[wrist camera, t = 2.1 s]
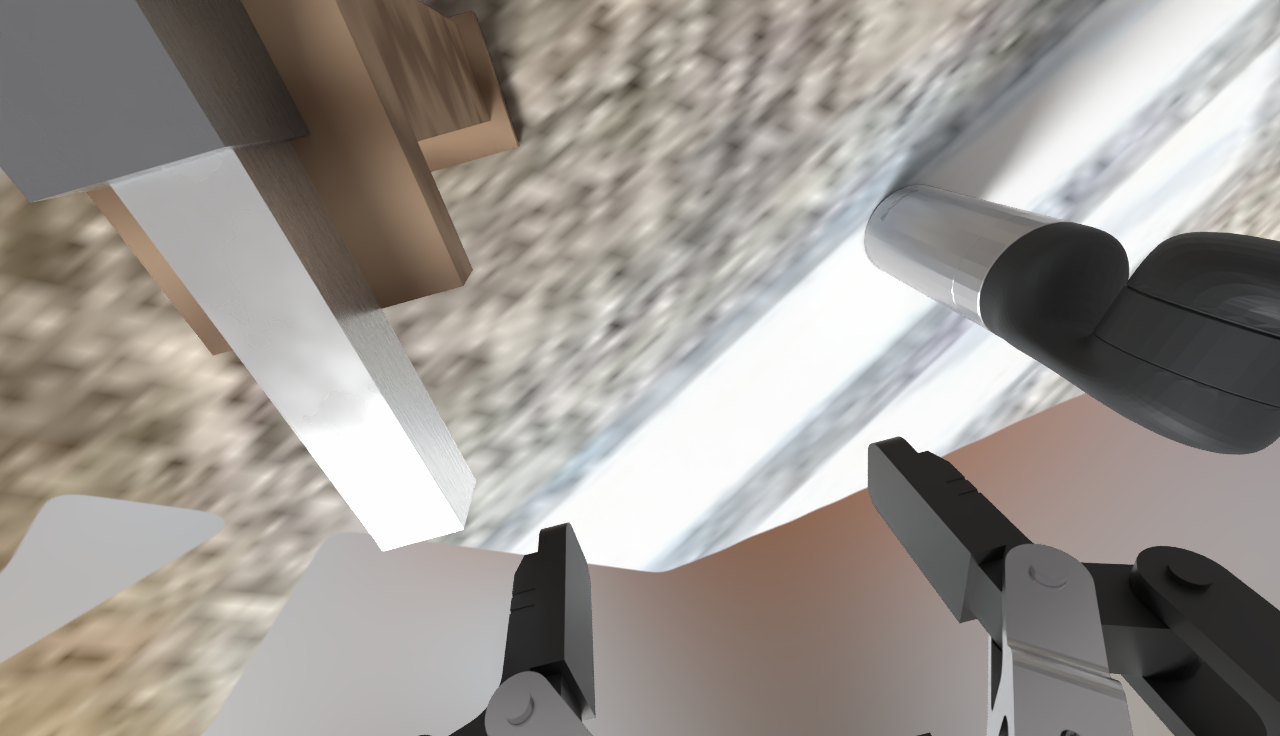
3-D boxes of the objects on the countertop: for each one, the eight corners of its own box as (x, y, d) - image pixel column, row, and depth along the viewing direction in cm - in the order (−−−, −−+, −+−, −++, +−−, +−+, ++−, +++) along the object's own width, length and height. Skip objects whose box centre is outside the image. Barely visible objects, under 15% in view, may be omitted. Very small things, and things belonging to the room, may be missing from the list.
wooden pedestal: (529, 174, 46) (463, 285, 19) (425, 203, 46) (212, 355, 19) (475, 13, 40) (261, -165, 13) (356, 47, 40) (-105, -55, 13)
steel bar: (491, 476, 23) (474, 553, 19) (389, 503, 23) (351, 586, 19) (208, -63, 13) (56, -129, 10) (34, -12, 14) (-187, -56, 10)
